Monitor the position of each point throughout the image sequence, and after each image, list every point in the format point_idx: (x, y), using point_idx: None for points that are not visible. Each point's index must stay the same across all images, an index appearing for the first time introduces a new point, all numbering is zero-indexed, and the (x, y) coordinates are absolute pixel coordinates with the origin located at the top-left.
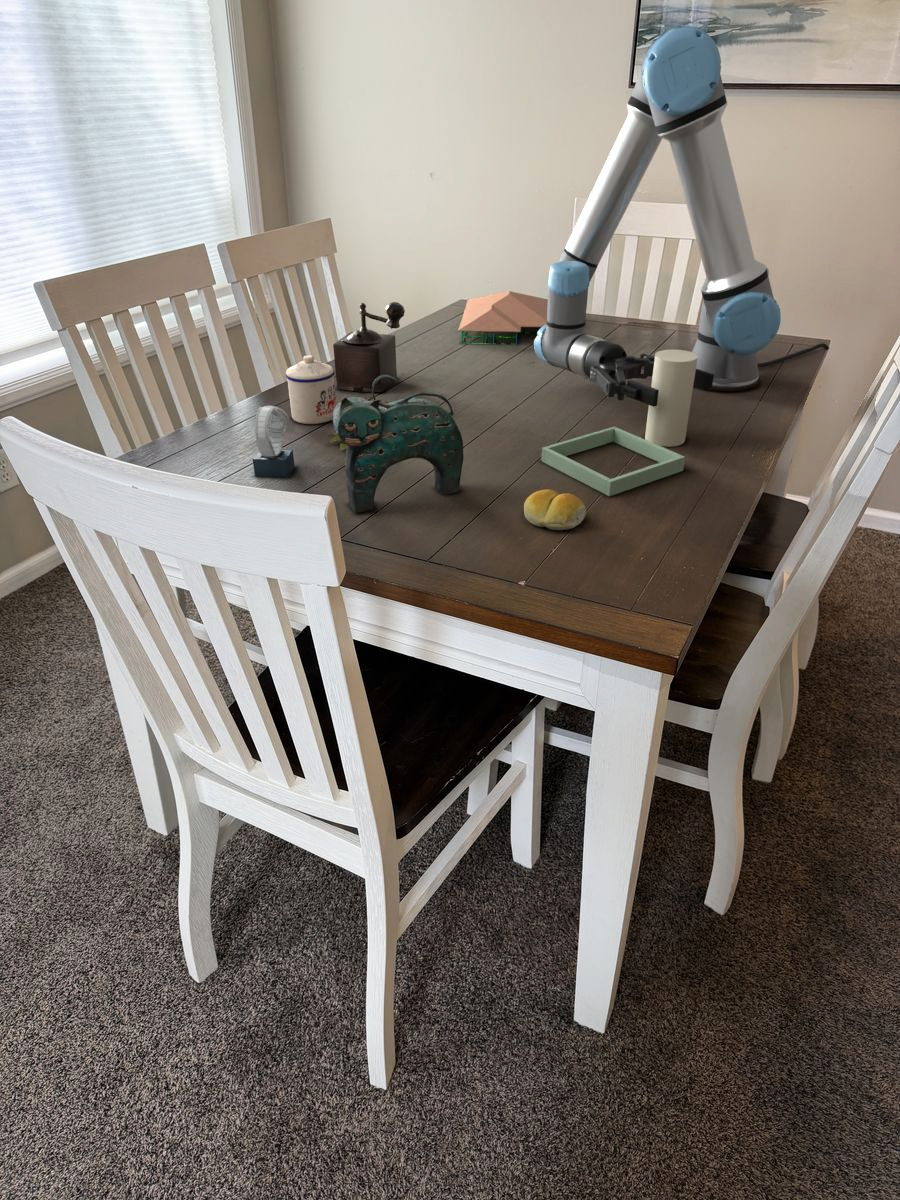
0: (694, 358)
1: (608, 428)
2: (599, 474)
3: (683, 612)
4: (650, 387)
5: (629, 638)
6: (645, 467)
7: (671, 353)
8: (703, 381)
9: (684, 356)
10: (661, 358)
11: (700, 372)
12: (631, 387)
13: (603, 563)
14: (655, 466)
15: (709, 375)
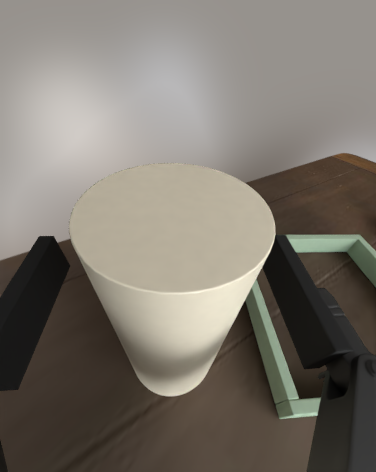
0: (148, 167)
1: (315, 410)
2: (373, 252)
3: (330, 159)
4: (288, 256)
5: (364, 160)
6: (302, 238)
7: (170, 230)
8: (54, 272)
9: (158, 188)
10: (265, 211)
11: (35, 272)
12: (334, 317)
13: (371, 191)
14: (287, 235)
15: (52, 241)
